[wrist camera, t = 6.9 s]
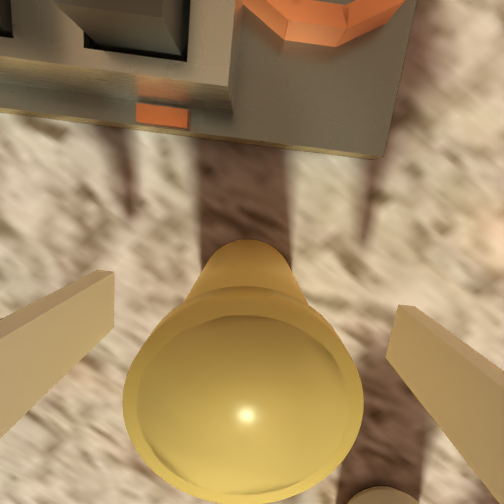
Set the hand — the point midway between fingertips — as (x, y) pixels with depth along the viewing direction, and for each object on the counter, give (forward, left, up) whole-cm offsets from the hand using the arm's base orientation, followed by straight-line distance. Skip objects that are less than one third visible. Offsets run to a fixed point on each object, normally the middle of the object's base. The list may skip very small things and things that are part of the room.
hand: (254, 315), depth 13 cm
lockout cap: (0, 0, -4) cm, 4 cm away
